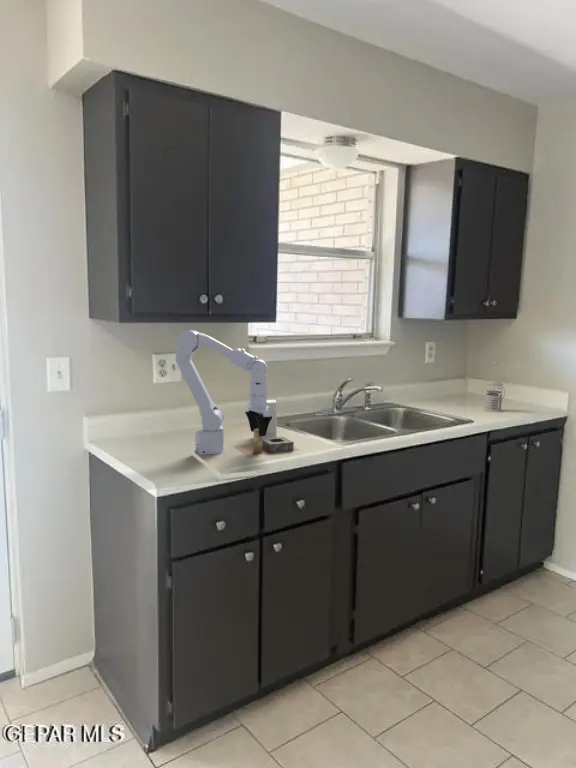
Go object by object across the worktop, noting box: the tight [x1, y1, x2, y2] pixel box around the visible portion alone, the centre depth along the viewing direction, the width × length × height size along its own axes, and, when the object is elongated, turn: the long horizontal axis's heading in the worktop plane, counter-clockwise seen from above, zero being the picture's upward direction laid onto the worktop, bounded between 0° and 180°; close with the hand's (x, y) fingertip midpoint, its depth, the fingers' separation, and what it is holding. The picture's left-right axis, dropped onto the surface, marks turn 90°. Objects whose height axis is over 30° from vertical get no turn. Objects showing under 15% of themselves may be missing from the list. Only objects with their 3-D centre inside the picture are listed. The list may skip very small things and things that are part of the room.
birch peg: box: [253, 429, 262, 453], centre depth 205 cm, size 3×3×8 cm
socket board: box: [233, 436, 300, 456], centre depth 211 cm, size 20×14×4 cm
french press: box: [482, 361, 506, 413], centre depth 298 cm, size 10×12×25 cm
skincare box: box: [262, 399, 278, 439], centre depth 226 cm, size 8×7×16 cm
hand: (258, 433), depth 204 cm, fingers open, 7 cm apart
